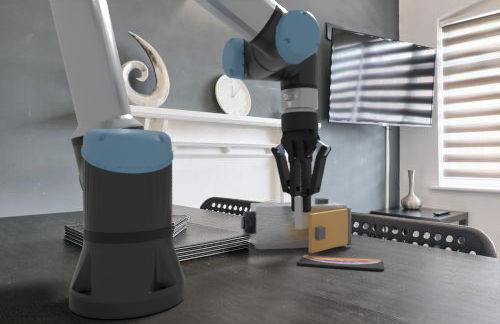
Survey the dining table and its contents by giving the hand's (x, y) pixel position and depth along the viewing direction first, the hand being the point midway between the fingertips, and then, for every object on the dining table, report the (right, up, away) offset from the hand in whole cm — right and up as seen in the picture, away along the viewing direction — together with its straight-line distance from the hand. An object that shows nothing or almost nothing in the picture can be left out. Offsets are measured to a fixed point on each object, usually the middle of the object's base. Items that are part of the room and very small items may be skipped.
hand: (301, 228), depth 82 cm
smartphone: (+6, -6, -8) cm, 12 cm away
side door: (+6, -5, +1) cm, 8 cm away
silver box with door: (-1, -5, +8) cm, 10 cm away
